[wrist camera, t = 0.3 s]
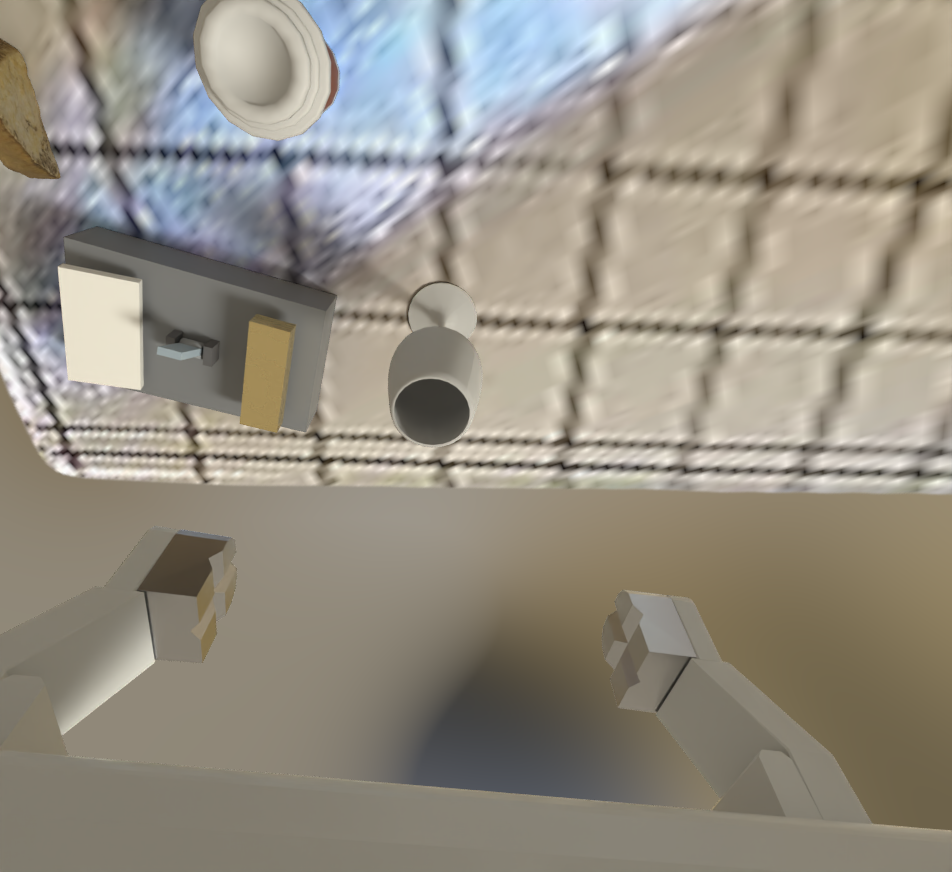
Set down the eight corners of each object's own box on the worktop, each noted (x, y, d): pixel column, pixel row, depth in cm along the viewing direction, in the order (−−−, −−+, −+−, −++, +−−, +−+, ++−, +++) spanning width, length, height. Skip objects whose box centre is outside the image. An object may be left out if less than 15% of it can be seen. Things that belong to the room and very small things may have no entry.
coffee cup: (367, 33, 44) (338, 10, 34) (342, 151, 48) (309, 162, 38) (254, -18, 42) (186, -58, 32) (239, 110, 46) (174, 110, 36)
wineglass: (391, 307, 56) (356, 401, 38) (451, 265, 54) (443, 343, 36) (435, 362, 59) (421, 473, 41) (492, 325, 57) (504, 424, 39)
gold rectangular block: (256, 313, 49) (249, 321, 48) (296, 324, 50) (290, 332, 48) (246, 413, 55) (239, 423, 53) (282, 422, 55) (276, 432, 54)
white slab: (62, 263, 46) (57, 266, 45) (142, 279, 48) (138, 282, 47) (72, 374, 51) (68, 379, 51) (143, 385, 53) (140, 390, 53)
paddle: (186, 337, 52) (158, 341, 46) (207, 342, 52) (182, 347, 47) (183, 353, 52) (155, 359, 47) (205, 358, 53) (179, 365, 47)
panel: (96, 226, 51) (49, 241, 45) (336, 295, 55) (321, 317, 49) (103, 356, 58) (63, 384, 52) (316, 410, 62) (301, 441, 56)
